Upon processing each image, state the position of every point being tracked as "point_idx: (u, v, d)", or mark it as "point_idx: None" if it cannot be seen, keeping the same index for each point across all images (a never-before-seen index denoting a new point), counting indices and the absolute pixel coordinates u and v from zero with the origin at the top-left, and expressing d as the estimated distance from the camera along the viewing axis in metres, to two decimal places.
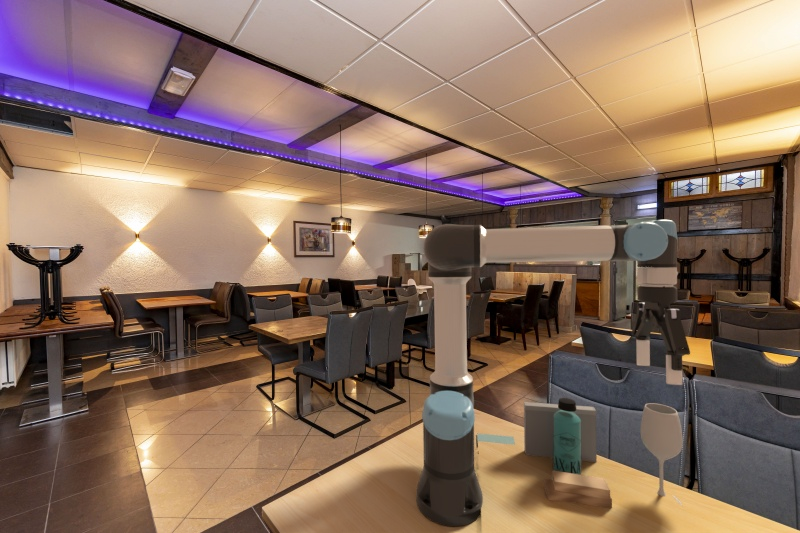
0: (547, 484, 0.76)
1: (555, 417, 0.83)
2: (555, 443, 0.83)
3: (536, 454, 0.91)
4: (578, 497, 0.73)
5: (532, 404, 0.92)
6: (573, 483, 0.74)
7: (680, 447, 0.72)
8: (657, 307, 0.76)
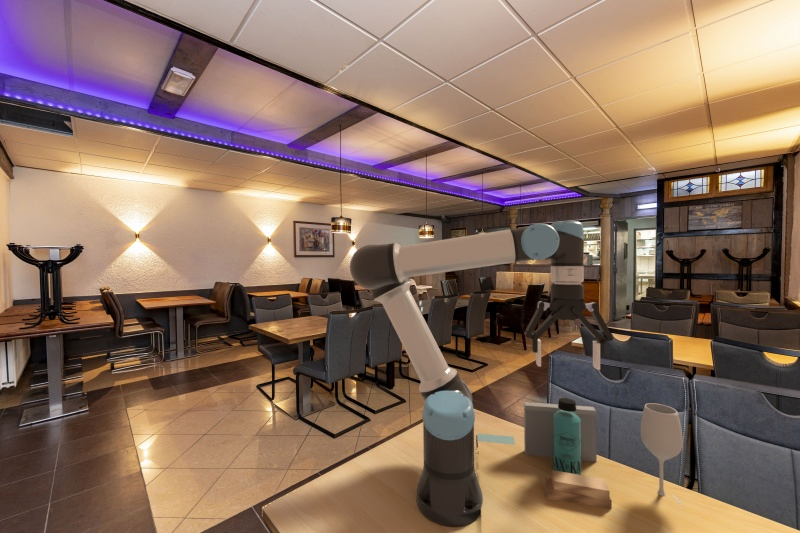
0: (547, 483, 0.77)
1: (555, 417, 0.83)
2: (555, 443, 0.83)
3: (536, 454, 0.91)
4: (577, 497, 0.73)
5: (532, 404, 0.92)
6: (572, 483, 0.74)
7: (680, 447, 0.72)
8: None
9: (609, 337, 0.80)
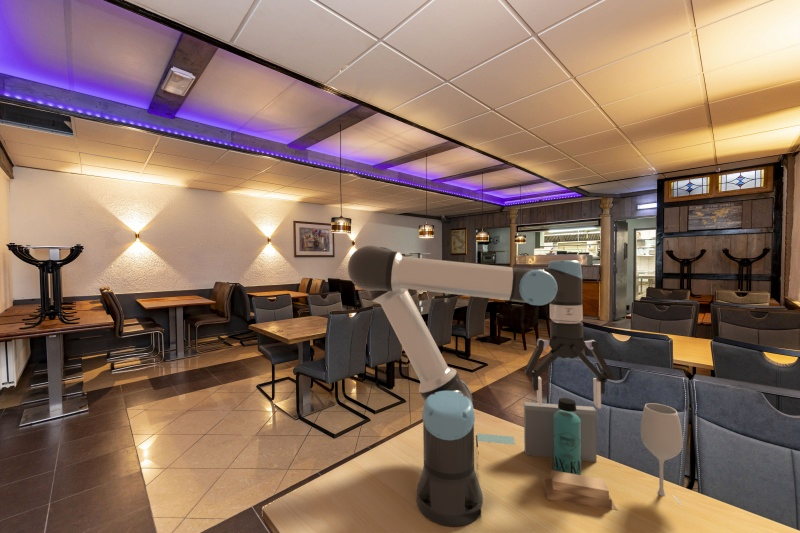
0: (547, 484, 0.76)
1: (555, 417, 0.83)
2: (555, 443, 0.83)
3: (536, 454, 0.91)
4: (577, 497, 0.73)
5: (532, 404, 0.92)
6: (571, 483, 0.74)
7: (680, 447, 0.72)
8: None
9: (609, 375, 0.80)
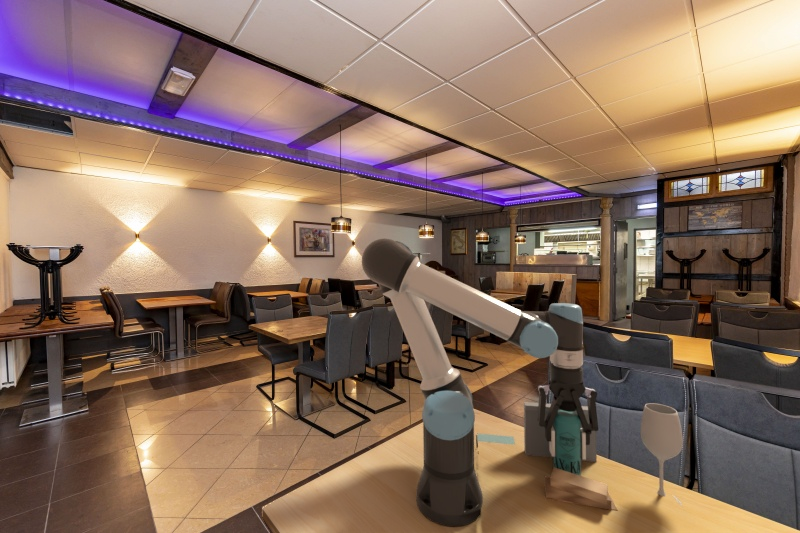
0: (546, 482, 0.77)
1: None
2: (555, 443, 0.83)
3: (536, 454, 0.91)
4: (576, 496, 0.73)
5: (532, 404, 0.92)
6: (568, 482, 0.74)
7: (680, 447, 0.72)
8: None
9: (595, 427, 0.81)
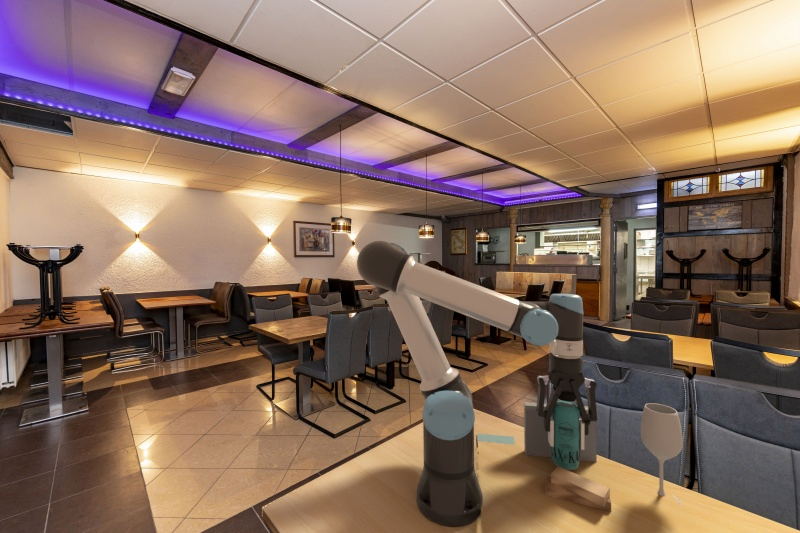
0: (546, 480, 0.78)
1: None
2: (554, 433, 0.83)
3: (536, 454, 0.91)
4: (575, 496, 0.73)
5: (532, 404, 0.92)
6: (568, 480, 0.75)
7: (680, 447, 0.72)
8: None
9: (594, 417, 0.81)
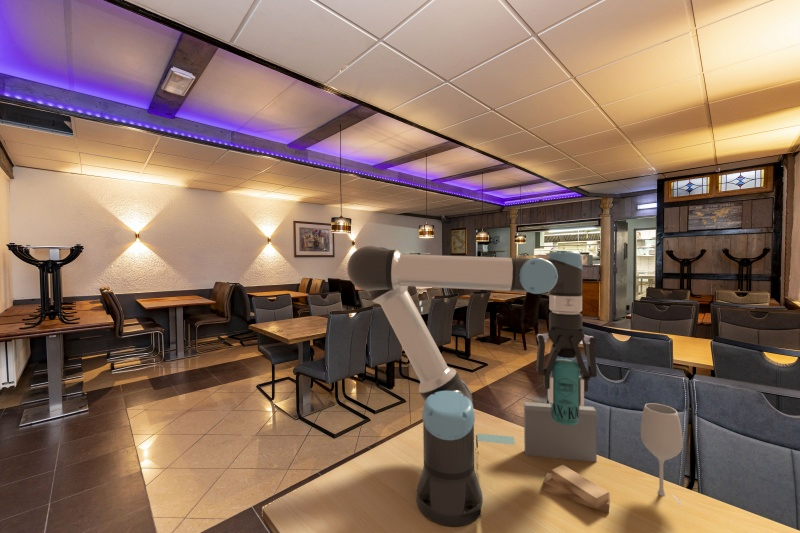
0: (547, 477, 0.79)
1: None
2: (553, 390, 0.83)
3: (536, 454, 0.91)
4: (573, 495, 0.74)
5: (532, 404, 0.92)
6: (566, 478, 0.76)
7: (680, 447, 0.72)
8: None
9: (593, 373, 0.81)
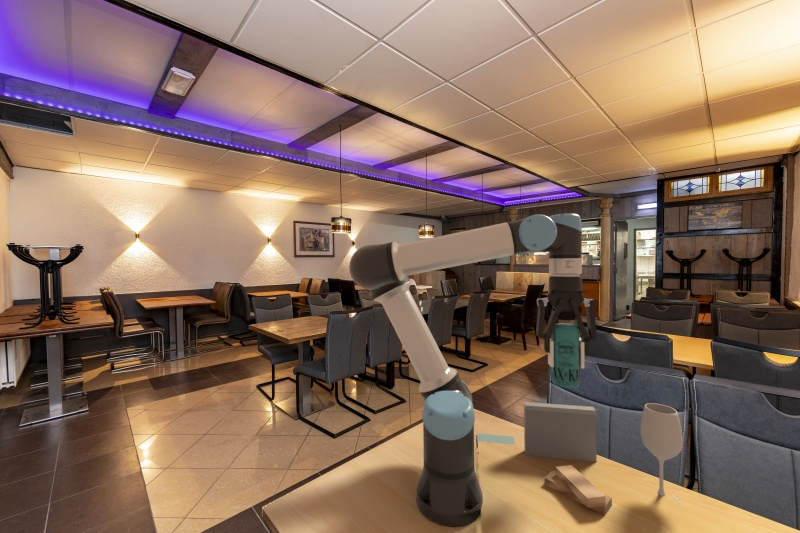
0: (550, 474, 0.80)
1: (554, 328, 0.83)
2: None
3: (536, 454, 0.91)
4: (571, 493, 0.75)
5: (532, 404, 0.92)
6: (566, 476, 0.77)
7: (680, 447, 0.72)
8: None
9: (594, 335, 0.81)
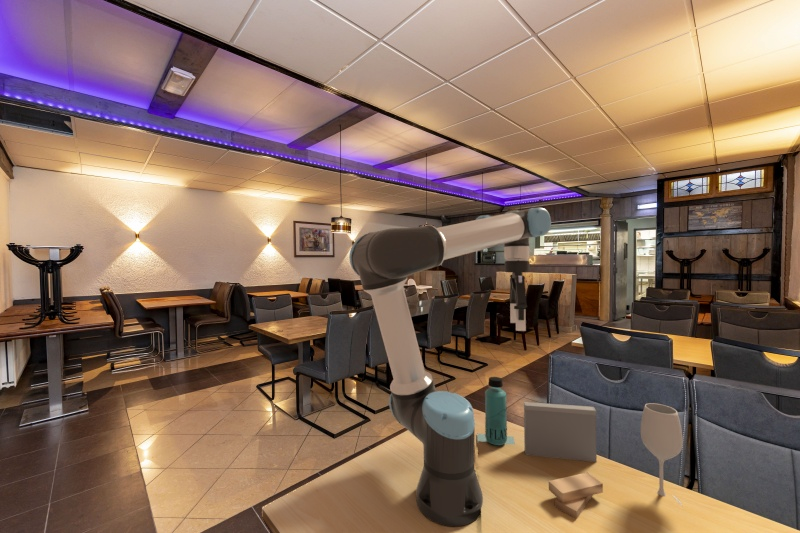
0: None
1: (498, 396, 0.96)
2: (499, 419, 0.96)
3: (536, 454, 0.91)
4: None
5: (532, 404, 0.92)
6: (575, 476, 0.77)
7: (680, 447, 0.72)
8: (514, 275, 1.03)
9: None
